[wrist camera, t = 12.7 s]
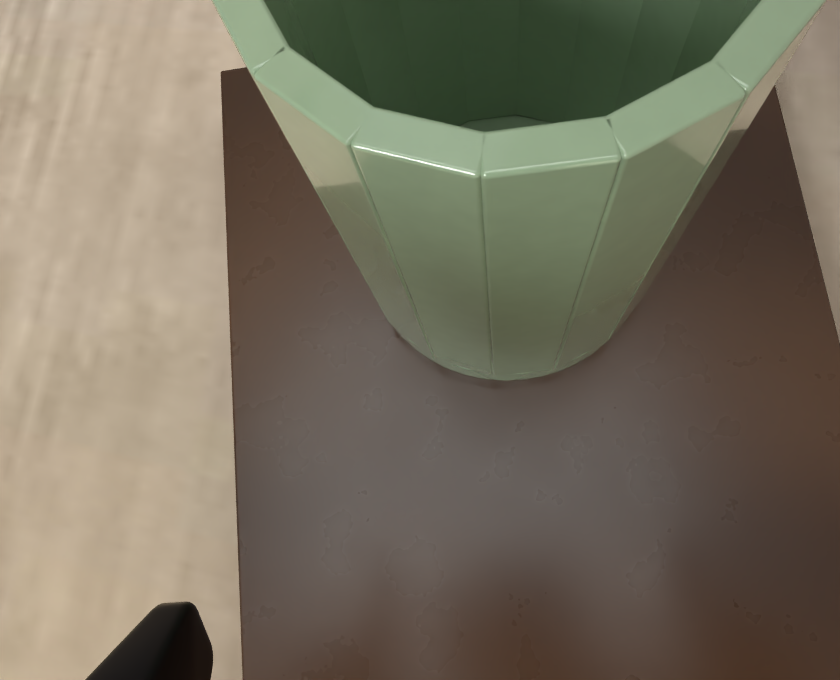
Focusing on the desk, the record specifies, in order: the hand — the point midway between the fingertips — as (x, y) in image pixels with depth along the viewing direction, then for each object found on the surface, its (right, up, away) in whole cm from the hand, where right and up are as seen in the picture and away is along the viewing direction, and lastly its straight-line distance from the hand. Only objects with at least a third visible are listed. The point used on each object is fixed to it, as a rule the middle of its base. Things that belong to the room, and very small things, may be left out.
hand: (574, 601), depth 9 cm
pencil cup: (0, +5, +9) cm, 11 cm away
